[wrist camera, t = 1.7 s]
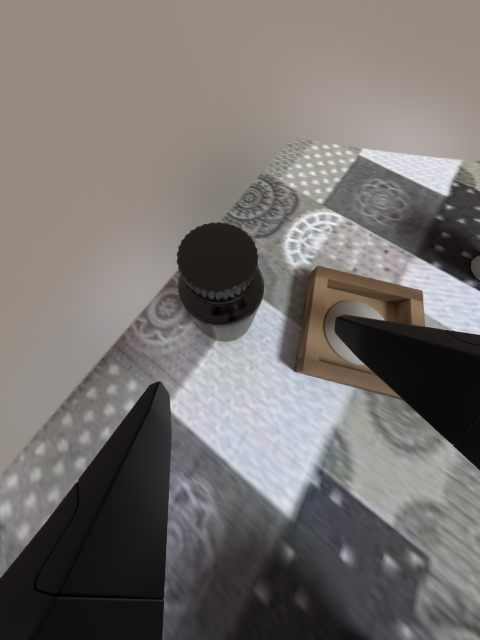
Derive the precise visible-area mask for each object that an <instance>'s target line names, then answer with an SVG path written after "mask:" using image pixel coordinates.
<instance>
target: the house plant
mask: <svg viewBox="0 0 480 640" xmlns="http://www.w3.org/2000/svg"><path fill="white" fill-rule="evenodd" d="M471 270H472V272H473V274H474V276H475V277H476V278H477V279H478V280H479V281H480V255H479V256H477V257H476V258H474V259H473V260H472V263H471Z"/></svg>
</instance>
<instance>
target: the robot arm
mask: <svg viewBox="0 0 480 640" xmlns="http://www.w3.org/2000/svg"><path fill="white" fill-rule="evenodd" d="M334 331H335V333H336V335H337V336H338V337H339V338H340V339H341V340H342V342H343V343H344V344H345V345H346V346H347V347H348V348H349V349H350V350H351V352H352V353H353V354H354V355H355V356H356V357H357V358H358V359H359V360H360V361H361V362H363V363H364V364H365V365H366V366H367V367H368V368H369V369H370V370H371V371H372V372H373V373H375V374H376V375H377V376H378V377H379V378H380V379H381V380H382V381H383V382H384V383H385V384H387V385H388V386H389V387H390V388H391V389H392V390H393V391H394V392H395V393H396V394H397V395H399V396H400V397H401V398H402V399H403V400H404V401H405V402H406V403H407V404H408V405H409V406H411V407H412V408H413V409H414V410H415V411H416V412H417V413H418V414H419V415H420V416H421V417H423V418H424V419H425V420H426V421H427V422H428V423H429V424H430V425H431V426H432V427H433V428H435V429H436V430H437V431H438V432H439V433H440V434H441V435H442V436H443V437H444V438H445V439H447V440H448V441H449V442H450V443H451V444H453V446H454V447H455V448H456V449H457V450H458V451H459V452H460V453H462V454H463V455H464V456H465V457H466V458H467V459H468V460H469V461H470V462H471V463H472V464H474V465H475V466H476V467H477V468H478V469H479V470H480V335H477V334H470V333H463V332H456V331H449V330H442V329H436V328H430V327H423V326H417V325H410V324H404V323H397V322H391V321H384V320H378V319H371V318H365V317H358V316H352V315H345V314H344V315H340V316H338V317H336V319H335V327H334ZM171 439H172V426H171V410H170V396H169V393H168V391H167V390H166V388H165V387H164V385H163V384H162V383H161V382H160V381H158V382H155V383H153V384H151V385H149V387H148V388H147V389H146V391H145V392H144V393H143V395H142V396H141V397H140V399H139V400H138V401H137V403H136V404H135V405H134V407H133V408H132V409H131V411H130V412H129V413H128V415H127V416H126V417H125V418H124V420H123V421H122V422H121V424H120V425H119V426H118V428H117V429H116V430H115V432H114V433H113V434H112V436H111V437H110V438H109V440H108V441H107V442H106V444H105V445H104V446H103V448H102V449H101V450H100V452H99V453H98V454H97V456H96V457H95V458H94V460H93V461H92V462H91V464H90V465H89V466H88V468H87V469H86V470H85V472H84V473H83V474H82V476H81V477H80V478H79V480H78V482H77V483H75V485H74V486H73V487H72V489H71V490H70V491H69V493H68V494H67V495H66V497H65V498H64V499H63V501H62V502H61V503H60V504H59V506H58V507H57V508H56V510H55V511H54V512H53V514H52V515H51V516H50V517H49V519H48V520H47V521H46V523H45V524H44V525H43V526H42V528H41V529H40V530H39V531H38V533H37V534H36V535H35V536H34V538H33V539H32V540H31V541H30V543H29V544H28V545H27V546H26V547H25V549H24V550H23V551H22V552H21V554H20V555H19V556H18V557H17V559H16V560H15V561H14V562H13V563H12V565H11V566H10V567H9V568H8V570H7V571H6V572H5V573H4V574H3V576H2V577H1V578H0V640H162V631H163V610H164V600H163V598H164V585H165V564H166V543H167V522H168V501H169V480H170V460H171Z"/></svg>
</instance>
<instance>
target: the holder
mask: <svg viewBox="0 0 480 640" xmlns="http://www.w3.org/2000/svg"><path fill="white" fill-rule="evenodd" d="M344 314H345V315H352V316H358V317H365V318H371V319H378V320H384V321H391V322H397V323H404V324H410V325H417V326H423V327H425V320H424V306H423V292H422V291H421V290H417V289H413V288H409V287H405V286H400V285H396V284H392V283H388V282H384V281H379V280H375V279H371V278H367V277H363V276H358V275H354V274H350V273H346V272H342V271H337V270H333V269H329V268H325V267H321V266H317V267H316V268H315V269H314V270H313V272H312V273H311V274H310V275H309V279H308V286H307V293H306V299H305V306H304V313H303V319H302V326H301V333H300V339H299V346H298V353H297V359H296V366H295V372H298V373H301V374H305V375H309V376H313V377H317V378H321V379H324V380H328V381H332V382H336V383H340V384H344V385H348V386H351V387H355V388H359V389H363V390H367V391H371V392H374V393H378V394H382V395H386V396H390V397H394V398H397V399H401V400H403V399H402V398H401V397H400V396H399V395H397V394H396V393H395V392H394V391H393V390H392V389H391V388H390V387H389V386H388V385H387V384H385V383H384V382H383V381H382V380H381V379H380V378H379V377H378V376H377V375H376V374H375V373H373V372H372V371H371V370H370V369H369V368H368V367H367V366H366V365H365V364H364V363H363V362H361V361H360V360H359V359H358V358H357V357H356V356H355V355H354V354H353V353H352V352H351V350H350V349H349V348H348V347H347V346H346V345H345V344H344V343H343V342H342V340H341V339H340V338H339V337H338V336H337V335H336V333H335V331H334V327H335V319H336V317H338V316H340V315H344Z"/></svg>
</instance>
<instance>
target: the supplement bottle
mask: <svg viewBox="0 0 480 640" xmlns="http://www.w3.org/2000/svg"><path fill="white" fill-rule="evenodd" d="M177 257H178V259H177V263H178V265H179V266H178V268H179V271H180V276H179V281H178V292H179V297H180V300H181V302H182V304H183V306H184V308H185V309H186V311H187V312H188V313H189V315H190V316H191V317H192V318H193V320H194V321H195V322H196V323H197V325H198V326H199V327H200V328H201V329H202V331H203V332H204V333H205V334H206V335H208V336H209V337H211V338H212V339H215V340H218V341H232V340H235V339H238V338H239V337H241V336H242V335H244V334H245V333H246V332H247V331H248V329H249V328H250V326H251V324H252V322H253V319H254V317H255V315H256V313H257V310H258V308H259V306H260V304H261V301H262V298H263V294H264V280H263V276H262V273H261V271H260V269H259V267H258V254H257V248H256V247H255V243H254V242H253V241H252V238H251V237H250V236H248V235H247V233H246V232H244V231H242V229H241V228H238V227H236V226H234V225H229V224H228V223H220V222H218V223H209V224H204V225H202V226H199V227H197V228H196V229H194V230H191V231H190V233H189V234H187V235H186V236H185V238H184V239H183V240H182V242H181V245H180V246H179V251H178V253H177Z"/></svg>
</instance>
